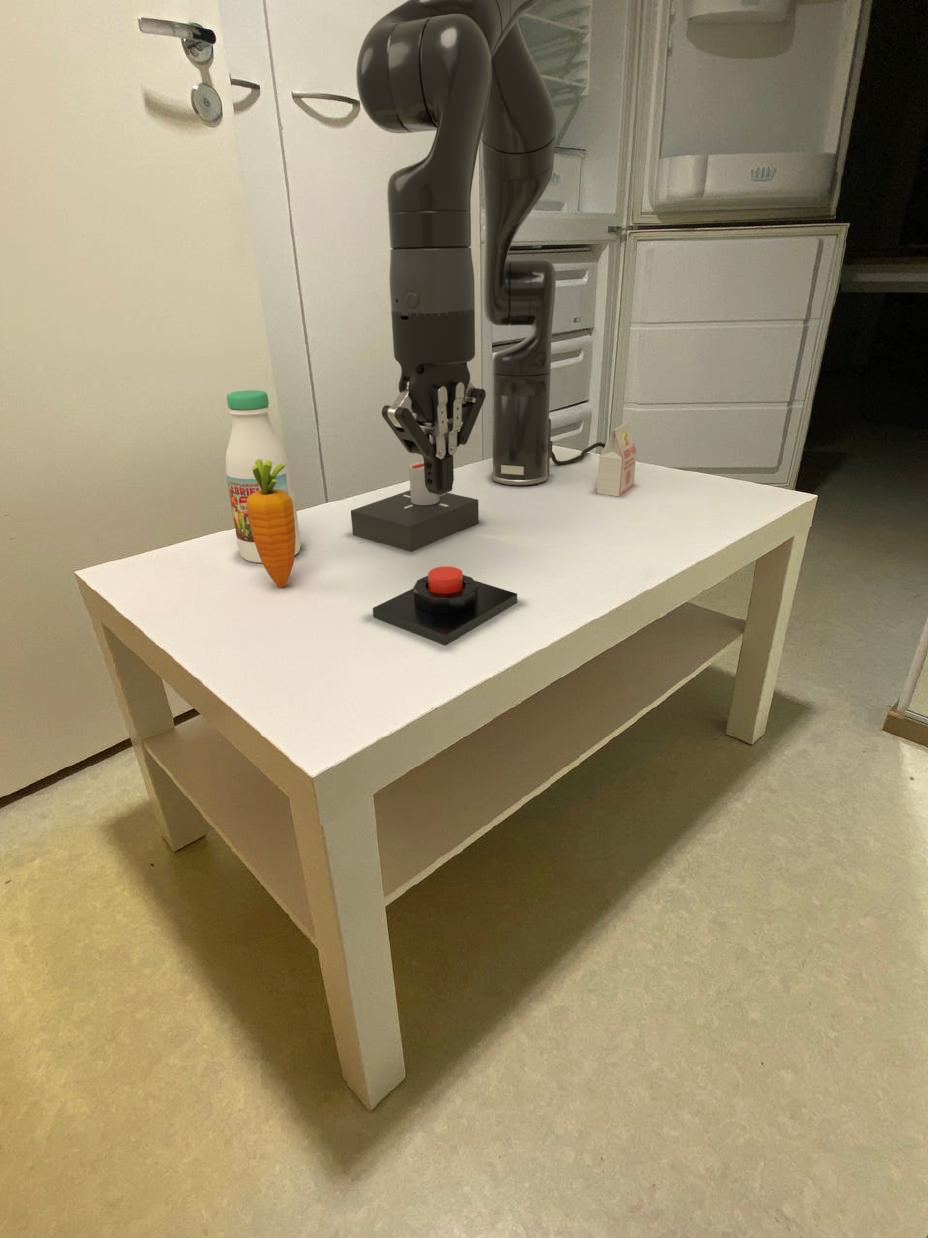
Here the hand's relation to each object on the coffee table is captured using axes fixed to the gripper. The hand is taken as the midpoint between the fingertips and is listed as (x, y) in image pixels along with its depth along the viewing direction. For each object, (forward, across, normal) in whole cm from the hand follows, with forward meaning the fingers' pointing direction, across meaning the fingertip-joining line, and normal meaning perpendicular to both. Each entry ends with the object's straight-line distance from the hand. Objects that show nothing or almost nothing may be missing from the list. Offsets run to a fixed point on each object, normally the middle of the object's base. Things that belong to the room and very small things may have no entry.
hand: (439, 491), depth 71 cm
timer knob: (+9, -18, -18) cm, 27 cm away
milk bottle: (+13, +2, -27) cm, 30 cm away
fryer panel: (+13, -16, -18) cm, 27 cm away
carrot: (+13, +8, -17) cm, 23 cm away
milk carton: (+13, -48, -5) cm, 51 cm away
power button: (+10, +1, +2) cm, 10 cm away
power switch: (+12, +2, +2) cm, 13 cm away
